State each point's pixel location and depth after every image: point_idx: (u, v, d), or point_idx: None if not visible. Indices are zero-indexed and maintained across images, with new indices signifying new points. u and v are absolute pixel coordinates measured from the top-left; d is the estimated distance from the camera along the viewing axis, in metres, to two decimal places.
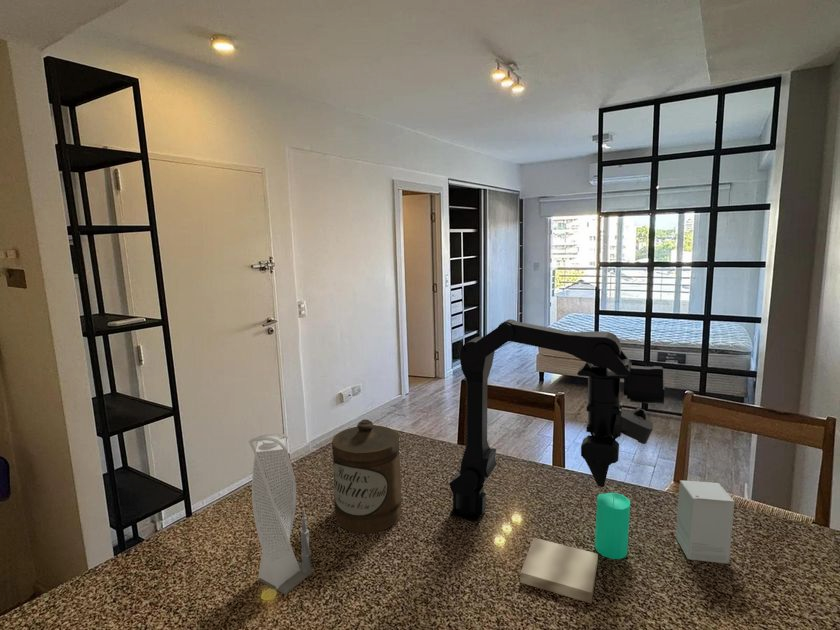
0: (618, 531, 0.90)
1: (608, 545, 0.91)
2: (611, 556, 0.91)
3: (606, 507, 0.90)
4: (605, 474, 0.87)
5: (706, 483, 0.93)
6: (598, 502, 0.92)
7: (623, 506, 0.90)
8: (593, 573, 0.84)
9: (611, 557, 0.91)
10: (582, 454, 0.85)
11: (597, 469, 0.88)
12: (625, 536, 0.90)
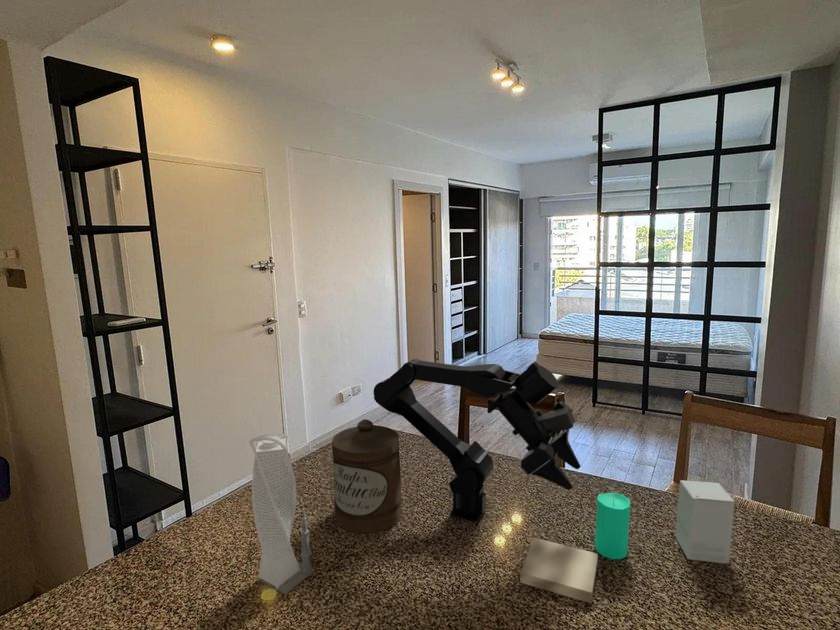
0: (618, 531, 0.90)
1: (608, 545, 0.91)
2: (611, 556, 0.91)
3: (606, 507, 0.90)
4: (562, 476, 0.90)
5: (706, 484, 0.93)
6: (598, 502, 0.92)
7: (623, 506, 0.90)
8: (593, 573, 0.84)
9: (611, 557, 0.91)
10: (526, 473, 0.90)
11: (553, 476, 0.91)
12: (625, 536, 0.90)
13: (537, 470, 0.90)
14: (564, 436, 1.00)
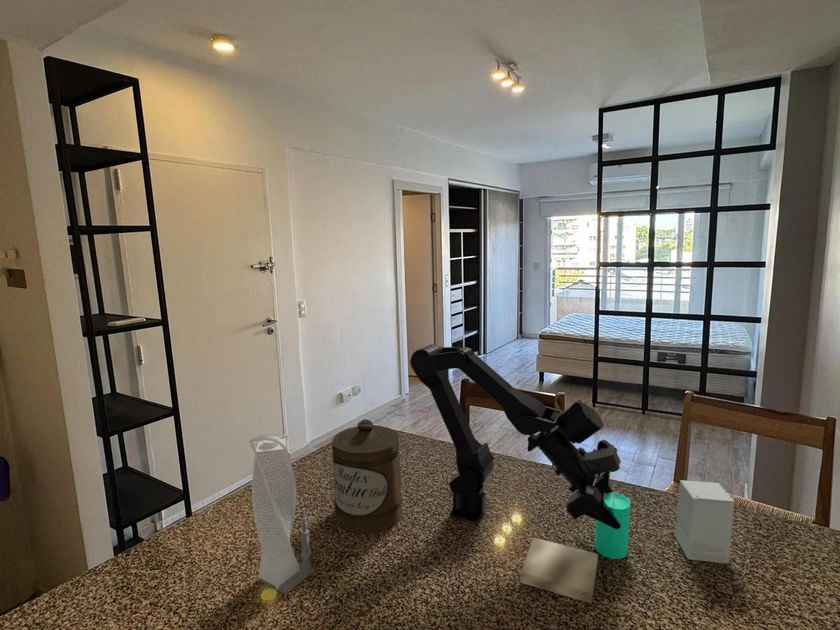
0: (618, 531, 0.90)
1: (608, 545, 0.91)
2: (611, 556, 0.91)
3: None
4: (610, 515, 0.89)
5: (706, 483, 0.93)
6: None
7: (623, 506, 0.90)
8: (593, 573, 0.84)
9: (611, 557, 0.91)
10: (572, 517, 0.87)
11: (601, 515, 0.89)
12: (625, 536, 0.90)
13: None
14: (606, 479, 0.95)
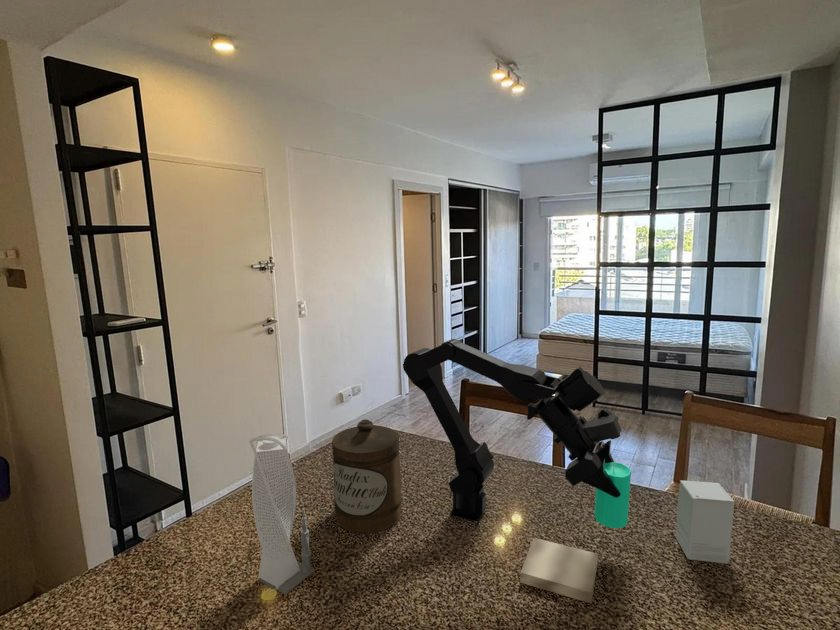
0: (618, 500, 0.88)
1: (608, 514, 0.89)
2: (610, 525, 0.89)
3: None
4: (610, 483, 0.87)
5: (706, 483, 0.93)
6: None
7: (623, 474, 0.89)
8: (593, 573, 0.84)
9: (610, 526, 0.89)
10: (571, 483, 0.85)
11: (600, 483, 0.88)
12: (625, 505, 0.89)
13: None
14: (606, 448, 0.94)
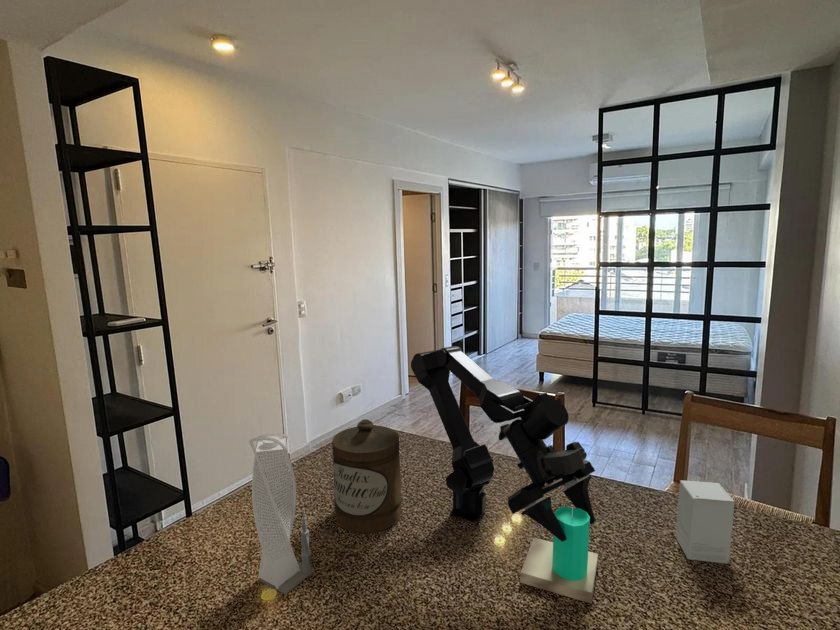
0: (569, 549, 0.81)
1: (559, 562, 0.83)
2: (561, 575, 0.83)
3: None
4: (554, 524, 0.80)
5: (706, 484, 0.93)
6: None
7: (578, 523, 0.82)
8: (593, 573, 0.84)
9: (561, 576, 0.83)
10: (511, 511, 0.83)
11: (545, 521, 0.82)
12: (578, 557, 0.81)
13: (525, 510, 0.82)
14: (580, 483, 0.87)
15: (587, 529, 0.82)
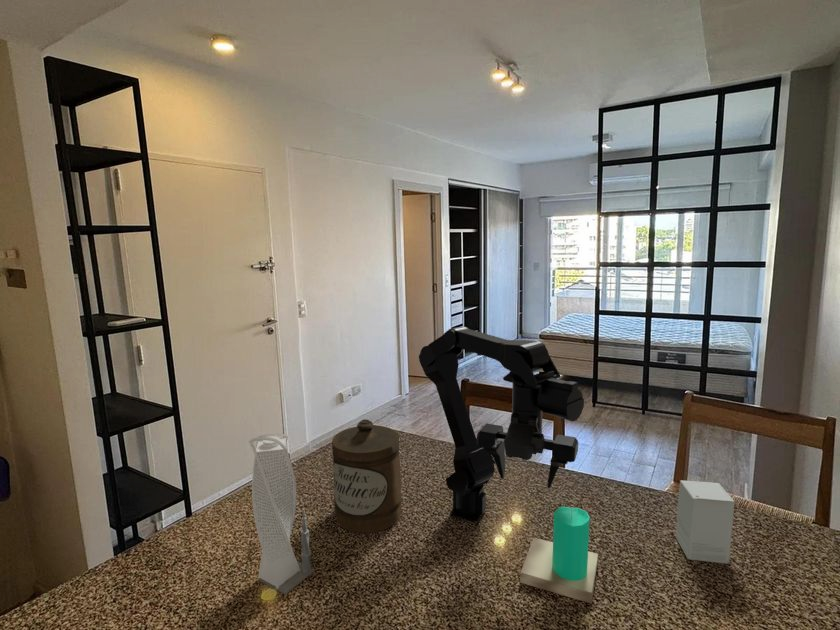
0: (569, 549, 0.81)
1: (559, 562, 0.83)
2: (561, 575, 0.83)
3: (557, 520, 0.82)
4: None
5: (706, 484, 0.93)
6: None
7: (578, 523, 0.82)
8: (593, 573, 0.84)
9: (561, 576, 0.83)
10: None
11: None
12: (578, 557, 0.81)
13: None
14: (551, 460, 0.89)
15: (587, 529, 0.82)
